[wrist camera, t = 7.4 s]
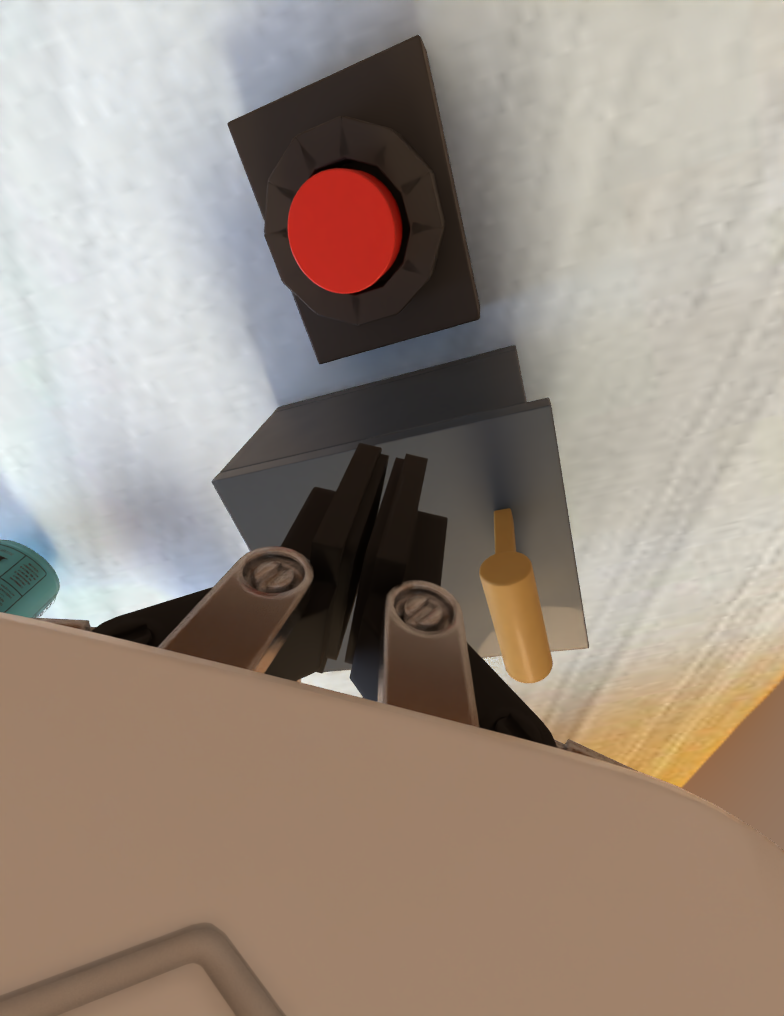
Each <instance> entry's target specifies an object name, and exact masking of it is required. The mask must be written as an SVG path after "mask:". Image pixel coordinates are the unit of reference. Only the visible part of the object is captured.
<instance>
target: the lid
mask: <svg viewBox="0 0 784 1016" xmlns="http://www.w3.org/2000/svg"><path fill="white" fill-rule="evenodd" d="M359 443H364V444H368V445H372V446H376V447H381V448H382V452H381V454H385V455H389V460H388V465H387V470H386V475H385V480H384V485H383V490H382V495H381V500H380V505H379V509H380V506H381V502H382V499H383V496H384V493H385V490H386V487H387V484H388V480H389V477H390V474H391V471H392V468H393V465H394V462H395V458H396V457H397V458H402V459H405V455H406V454H411V455H415V456H419V457H424V458H428V461H427V466H426V471H425V476H424V481H423V486H422V491H421V496H420V501H419V506H418V511H422V512H426V513H430V514H434V515H439V516H443V517H447V518H448V521H447V531H446V541H445V550H444V559H443V569H442V578H441V587H442V588H444V589H446V590H447V591H448V592H449V593H451V594H452V595H453V596H454V597H455V599H456V600H457V601H458V603H459V604H460V607H461V610H462V614H463V620H464V627H465V634H466V641H467V643H468V644H469V645H470V646H471V647H472V648H473V649H474V650H475V651H476V652H477V653H478V654H479V655H480V657H481V658H485V657H496V656H502V657H503V661H504V664H505V668H506V671H507V673H508V674H509V675H510V676H511V677H512V678H513V679H515V680H517V681H519V682H522V683H535V682H538V681H540V680H542V679H544V678H545V677H546V676H547V675H548V674H549V673H550V671H551V669H552V664H553V663H552V657H551V652H552V651H563V650H574V649H585V648H589V643H588V637H587V631H586V624H585V618H584V612H583V605H582V599H581V592H580V586H579V580H578V573H577V567H576V560H575V554H574V548H573V541H572V535H571V529H570V522H569V516H568V509H567V503H566V497H565V490H564V484H563V477H562V471H561V465H560V458H559V452H558V445H557V439H556V433H555V426H554V420H553V414H552V407H551V403H550V400H549V398H545V399H540V400H536V401H531V402H527V403H523V404H518V405H514V406H510V407H505V408H501V409H497V410H492V411H488V412H483V413H479V414H475V415H470V416H466V417H462V418H457V419H453V420H449V421H444V422H440V423H436V424H431V425H427V426H422V427H418V428H414V429H409V430H405V431H401V432H396V433H392V434H388V435H383V436H379V437H374V438H370V439H366V440H361V441H357V442H353V443H348V444H344V445H340V446H335V447H331V448H327V449H322V450H318V451H313V452H309V453H305V454H300V455H296V456H292V457H287V458H283V459H279V460H274V461H270V462H266V463H261V464H257V465H252V466H248V467H244V468H239V469H235V470H231V471H226V472H222V473H219V474H218V475H217V476H216V477H215V478H214V479H213V480H212V484H213V485H214V487H215V489H216V491H217V493H218V494H219V496H220V498H221V500H222V502H223V503H224V505H225V507H226V509H227V511H228V512H229V514H230V516H231V518H232V520H233V521H234V523H235V525H236V527H237V529H238V530H239V532H240V534H241V536H242V538H243V539H244V541H245V543H246V545H247V547H248V548H249V550H250V551H253V550H255V549H258V548H263V547H269V546H274V547H280V546H281V545H282V543H283V541H284V539H285V537H286V536H287V534H288V532H289V530H290V528H291V527H292V525H293V523H294V521H295V519H296V518H297V516H298V514H299V512H300V510H301V509H302V507H303V505H304V503H305V501H306V500H307V498H308V496H309V494H310V492H311V491H312V489H313V488H314V487H320V488H324V489H329V490H333V491H336V490H337V488H338V486H339V484H340V482H341V480H342V478H343V476H344V474H345V471H346V469H347V467H348V465H349V463H350V461H351V459H352V457H353V455H354V453H355V450H356V448H357V446H358V444H359ZM378 512H379V510H378ZM356 598H357V596H356ZM355 603H356V599H355ZM355 603H354V606H353V609H352V613H351V616H350V619H349V622H348V626H347V629H346V632H345V635H344V639H343V642H342V645H341V648H340V652H339V655H338V658H337V660H333V659H327V662H326V665H325V668H324V671H323V672H329V671H341V670H351V669H352V664H349V663H345V662H344V661H345V655H346V650H347V645H348V640H349V635H350V629H351V624H352V619H353V614H354V608H355Z"/></svg>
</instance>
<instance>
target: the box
mask: <svg viewBox="0 0 784 1016" xmlns="http://www.w3.org/2000/svg"><path fill="white" fill-rule="evenodd" d="M523 403H527V401H526V396H525V391H524V386H523V381H522V376H521V371H520V366H519V361H518V356H517V351H516V346H515V345H514V346H510V347H506V348H502V349H498V350H495V351H491V352H487V353H483V354H479V355H476V356H472V357H468V358H464V359H460V360H457V361H453V362H449V363H445V364H441V365H438V366H434V367H430V368H426V369H422V370H419V371H415V372H411V373H407V374H403V375H400V376H396V377H392V378H388V379H384V380H381V381H377V382H373V383H369V384H365V385H362V386H358V387H354V388H350V389H346V390H343V391H339V392H335V393H331V394H327V395H324V396H320V397H316V398H312V399H308V400H304V401H301V402H297V403H293V404H289V405H285V406H282V407H278V408H277V409H276V410H275V411H274V413H273V414H272V415H271V416H270V417H269V418H268V419H267V420H266V422H265V423H264V424H263V425H262V426H261V427H260V428H259V429H258V431H257V432H256V433H255V434H254V435H253V436H252V437H251V438H250V439H249V441H248V442H247V443H246V444H245V445H244V446H243V447H242V448H241V449H240V451H239V452H238V453H237V454H236V455H235V456H234V457H233V458H232V459H231V461H230V462H229V463H228V464H227V465H226V466H225V467H224V468H223V470H222V471H221V472H220V473H222V472H226V471H231V470H235V469H239V468H244V467H248V466H252V465H257V464H261V463H266V462H270V461H274V460H279V459H283V458H287V457H292V456H296V455H300V454H305V453H309V452H313V451H318V450H322V449H327V448H331V447H335V446H340V445H344V444H348V443H353V442H357V441H361V440H366V439H370V438H374V437H379V436H383V435H388V434H392V433H396V432H401V431H405V430H409V429H414V428H418V427H422V426H427V425H431V424H436V423H440V422H444V421H449V420H453V419H457V418H462V417H466V416H470V415H475V414H479V413H483V412H488V411H492V410H497V409H501V408H505V407H510V406H514V405H518V404H523Z"/></svg>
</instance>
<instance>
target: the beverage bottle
mask: <svg viewBox="0 0 784 1016" xmlns="http://www.w3.org/2000/svg"><path fill="white" fill-rule="evenodd" d="M59 587H60V585H59V579H58V577H57V574H56V573H55V571H54V569H53V568H52V567H51V565H50V564H49V563H48V562H47V561H46V560H45V559H44V558H43V557H41V556H40V555H39V554H38V553H36V552H35V551H33V550H31V549H30V548H28V547H26V546H24V545H22V544H19V543H16V542H13V541H9V540H0V612H2V613H7V614H12V615H18V616H23V617H29V618H36V617H37V616H38V617H39V614H40V616H41V613H42V615H43V612H44V611H43V610H45V608H46V607H47V606H48V605H49V604H50V603H51V602H52V601H53V600H54V599H56V595H57V593H58V591H59ZM54 602H55V601H54ZM50 606H51V604H50ZM50 606H49V607H50ZM46 609H47V608H46ZM42 611H43V612H42Z"/></svg>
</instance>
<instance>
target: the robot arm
mask: <svg viewBox="0 0 784 1016" xmlns="http://www.w3.org/2000/svg"><path fill="white" fill-rule="evenodd" d="M381 452H382V448H381V447H376V446H372V445H368V444H364V443H359V444H358V446H357V448H356V450H355V453H354V455H353V457H352V459H351V461H350V463H349V465H348V467H347V469H346V471H345V474H344V476H343V478H342V480H341V482H340V484H339V486H338V488H337V490H336V491H333V490H329V489H324V488H320V487H314V488H313V489H312V491H311V492H310V494H309V496H308V498H307V500H306V501H305V503H304V505H303V507H302V509H301V510H300V512H299V514H298V516H297V518H296V519H295V521H294V523H293V525H292V527H291V528H290V530H289V532H288V534H287V536H286V537H285V539H284V541H283V543H282V545H281V546H280V547H274V546H269V547H263V548H258V549H255V550H253V551H250V552H248V553H246V554H245V555H244V556H243V557H241V558H240V559H239V560H238V561H237V562H236V563H235V564H234V565H233V566H232V568H231V569H230V570H229V571H228V572H227V573H226V574H225V575H224V576H223V577H222V578H221V579H220V580H219V582H218V583H217V584H216V585H215V586H214V587H212V588H209V589H205V590H202V591H199V592H196V593H192V594H189V595H186V596H183V597H179V598H176V599H173V600H170V601H166V602H163V603H160V604H157V605H154V606H150V607H147V608H144V609H141V610H137V611H134V612H131V613H128V614H124V615H121V616H118V617H115V618H113V619H111V620H108V621H106V622H104V623H102V624H101V625H99V626H98V627H90V624H89V621H88V620H68V619H49V618H29V617H23V616H18V615H12V614H7V613H2V612H0V1016H784V850H783V849H781V848H780V847H779V846H778V845H776V844H775V843H774V842H773V841H771V840H770V839H768V838H767V837H766V836H764V835H763V834H761V833H760V832H759V831H757V830H756V829H754V828H753V827H751V826H750V825H748V824H746V823H745V822H743V821H741V820H740V819H738V818H736V817H735V816H733V815H731V814H730V813H728V812H727V811H725V810H723V809H721V808H720V807H718V806H717V805H715V804H713V803H711V802H709V801H707V800H705V799H702V798H700V797H698V796H696V795H694V794H692V793H690V792H688V791H686V790H684V789H682V788H680V787H678V786H675V785H673V784H670V783H667V782H665V781H662V780H660V779H657V778H654V777H652V776H649V775H646V774H644V773H641V772H638V771H636V770H634V769H632V768H630V767H627V766H625V765H623V764H621V763H619V762H617V761H614V760H612V759H610V758H608V757H606V756H604V755H602V754H599V753H597V752H595V751H593V750H591V749H589V748H586V747H584V746H582V745H580V744H578V743H576V742H573V741H571V740H569V739H568V740H567V742H566V743H565V744H563V743H560V742H558V741H556V740H554V739H553V736H552V734H551V732H550V731H549V730H548V728H547V727H546V726H545V725H544V723H543V722H542V721H541V720H540V719H539V718H538V717H537V715H536V714H535V713H534V712H533V711H532V710H531V709H530V708H529V707H528V706H527V705H526V704H525V703H524V702H523V701H522V700H521V699H520V698H519V697H518V695H517V694H516V693H515V692H514V691H513V690H512V689H511V688H510V687H509V686H508V685H507V684H506V683H505V682H504V681H503V680H502V679H501V678H500V677H499V675H498V674H497V673H496V672H495V671H494V670H493V669H492V668H491V667H490V666H489V665H488V664H487V663H486V662H485V661H484V660H483V659H482V658H481V657H480V655H479V654H478V653H477V652H476V651H475V650H474V649H473V648H472V647H471V646H470V645H469V644H468V643H467V641H466V634H465V627H464V620H463V614H462V610H461V607H460V604H459V603H458V601H457V600H456V599H455V597H454V596H453V595H452V594H451V593H449V592H448V591H447V590H446V589H444V588H442V587H441V578H442V569H443V559H444V550H445V541H446V531H447V521H448V518H447V517H443V516H439V515H434V514H430V513H426V512H422V511H418V506H419V501H420V496H421V491H422V486H423V481H424V476H425V471H426V466H427V461H428V458H424V457H419V456H415V455H411V454H406V455H405V459H402V458H397V457H396V458H395V462H394V465H393V468H392V471H391V474H390V477H389V480H388V484H387V487H386V490H385V493H384V496H383V499H382V502H381V506H380V509H379V505H380V500H381V495H382V490H383V485H384V480H385V475H386V470H387V465H388V460H389V455H385V454H381ZM378 510H379V512H378ZM356 596H357V598H356ZM355 599H356V603H355ZM354 603H355V608H354V614H353V619H352V624H351V629H350V635H349V640H348V645H347V650H346V655H345V661H344V662H345V663H349V664H352V669H351V674H350V679H351V681H352V682H353V683H354V685H355V686H356V688H357V689H358V691H359V692H360V693H361V695H362V696H363V698H360V697H356V696H352V695H348V694H344V693H340V692H336V691H332V690H328V689H324V688H320V687H316V686H312V685H308V684H304V683H301V678H303V677H306V676H308V675H310V674H312V673H314V672H319V673H323V671H324V668H325V665H326V662H327V659H333V660H337V658H338V655H339V652H340V648H341V645H342V642H343V639H344V635H345V632H346V629H347V626H348V622H349V619H350V616H351V613H352V609H353V606H354Z"/></svg>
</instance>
